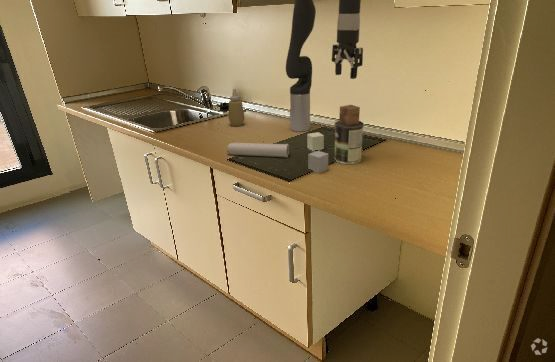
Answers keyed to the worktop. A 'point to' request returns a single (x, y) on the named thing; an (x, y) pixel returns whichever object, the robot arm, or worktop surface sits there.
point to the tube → (258, 149)
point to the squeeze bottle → (236, 110)
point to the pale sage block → (315, 141)
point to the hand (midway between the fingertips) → (345, 76)
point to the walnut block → (349, 115)
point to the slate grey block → (318, 161)
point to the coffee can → (348, 143)
